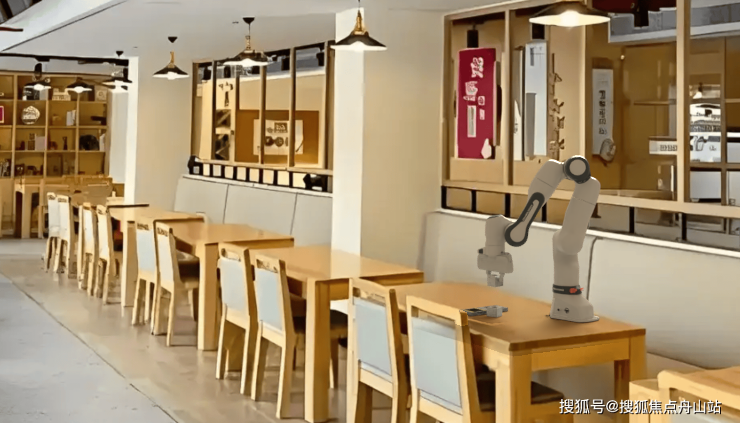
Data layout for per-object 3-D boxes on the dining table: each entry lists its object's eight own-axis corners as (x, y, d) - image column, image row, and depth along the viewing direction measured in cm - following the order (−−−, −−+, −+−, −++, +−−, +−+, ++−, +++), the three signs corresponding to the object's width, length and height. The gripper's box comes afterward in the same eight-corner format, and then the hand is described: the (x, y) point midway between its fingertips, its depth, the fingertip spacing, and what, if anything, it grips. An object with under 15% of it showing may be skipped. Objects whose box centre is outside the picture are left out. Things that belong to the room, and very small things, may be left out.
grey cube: (503, 285, 393) (503, 274, 393) (495, 287, 390) (494, 275, 390) (495, 284, 397) (495, 273, 397) (487, 285, 394) (487, 274, 394)
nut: (502, 318, 383) (502, 306, 383) (496, 319, 379) (497, 308, 379) (491, 316, 386) (492, 305, 386) (486, 318, 382) (486, 307, 382)
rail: (508, 313, 394) (508, 307, 394) (471, 318, 382) (471, 312, 382) (495, 310, 401) (495, 304, 401) (459, 315, 388) (459, 309, 388)
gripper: (516, 252, 386) (516, 283, 387) (485, 248, 403) (485, 278, 404) (506, 253, 382) (506, 284, 383) (474, 249, 399) (475, 279, 400)
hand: (495, 281), depth 394 cm, fingers closed on grey cube, 5 cm apart
